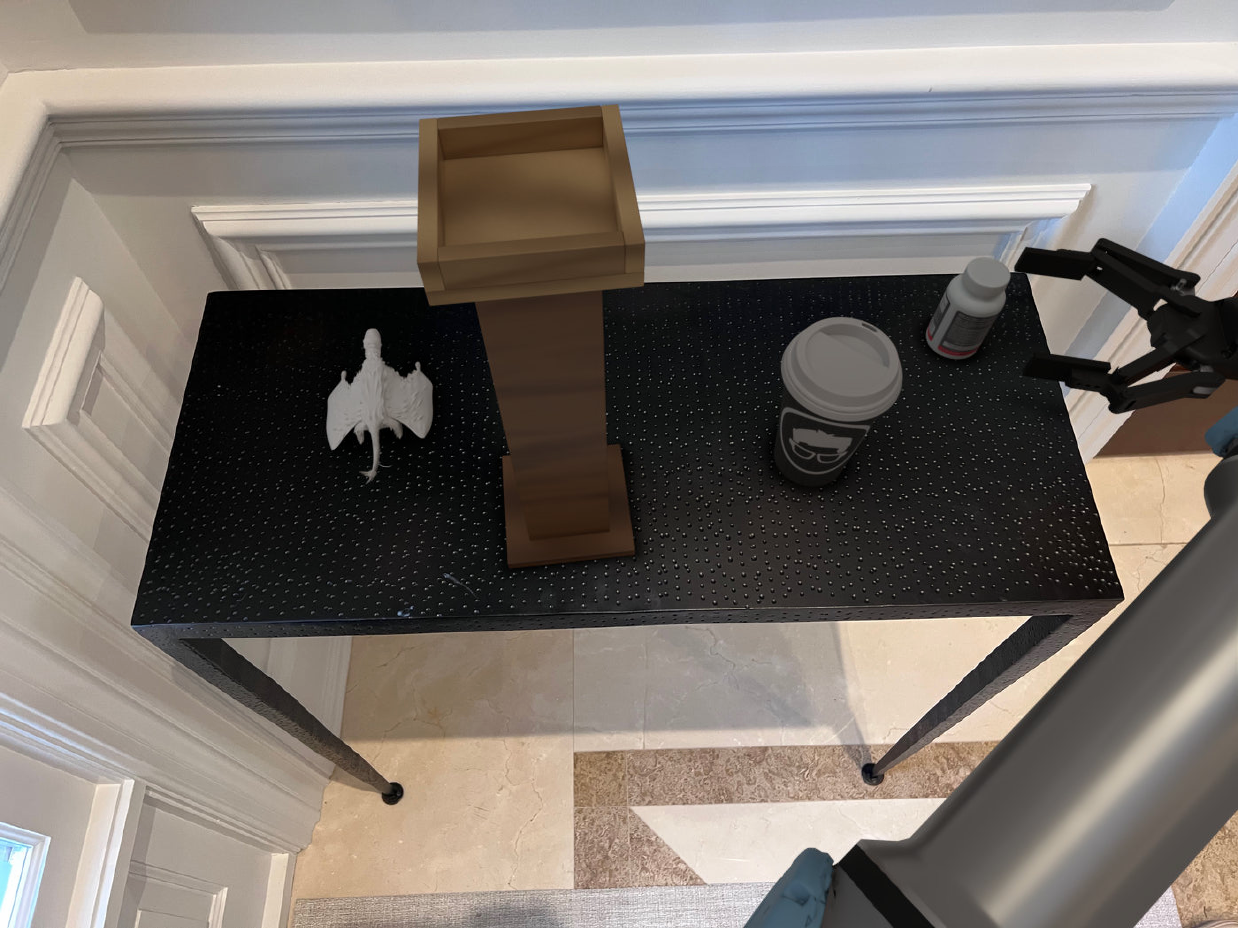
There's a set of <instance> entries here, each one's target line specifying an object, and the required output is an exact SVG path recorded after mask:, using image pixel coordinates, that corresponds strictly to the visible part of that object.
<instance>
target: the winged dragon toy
mask: <svg viewBox="0 0 1238 928" xmlns="http://www.w3.org/2000/svg"><path fill="white" fill-rule="evenodd" d="M381 338H382V337H381V334H380V332H379V331H378V329H376V328H369V329H367V331H366V332H365V335H364V339H363V340H362V343H363V349H365V350H364V352H365V353H364V355H365V358H366V359H365V360H363V363H361V366H362V367H361V369H359V371H358V372H356V376H354V377H353V381H352V382H351V383H348V381H347V380H346V378H347V371H346V370H343V371H342V372H341V374H340V376H341V379H340V381H339V383H338V384H337V385H336V387H335V388H334V389H333V390H332V392H331V393H330V394H329V396H328V399H327V414H326V415H327V417H326V435H327V441H328V443H329V447H330V449H331V451H333V450H335V449H336V448H338V447H339V445H340V444H341V443H342V441H343V440H344V438H345V437H346V436H347V435H348V433H349V432H350V431H351V430H352V429H353V428H354V430H353V434H355V435H356V438H357V440H358V442H359V445H362V443H364V441H365V431H368V432H369V433H370V436H371V440H372V449H373V463H372V469H370V470H368V471H361V472H360V473H361V475H363V474H364V476H368V477H369V479H368V480H367V482H366V483H365V485H367V484H368V483H370V482H372V481H373V479H374V478H375V476H377V470H378V467H379V465H380V463H381V462H380V457H381V456H380V455H381V452H382V451H381V446H380V445H381V443H380V430H382V429H386V428H390V430H393V432H394V435H396V438H398V439H399V440H401V438H402V437H403V435H404V430H403V425H405V426H406V427H407V428H408V429H410V430H411V431H412V432H413V433H414V434H415V435H416V436H417V437H419V438H420V439H425V438H426V436H427V435H428V433H429V431H430V429H431V426H432V422H433V417H434V416H433V415H434V405H433V389H434V386H433V384H432V382H431V380H429V378H428V377H427V376H426V375H425V374H424V372H422V371H421V363H420V361H416V362H415V364H414V365H415V368H416V369H413V371H412V372H411V373H410V372H408V373H407V377H404V376H401V375H400V373H399V372H398V371H395V369H394V368H393V367H392V366H390V367H389V366H388V365H387V364H386V361H384V359H383V357H381V352H382V351H381V350H382V349H381V348H382V346H383V343H382V339H381Z"/></svg>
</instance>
